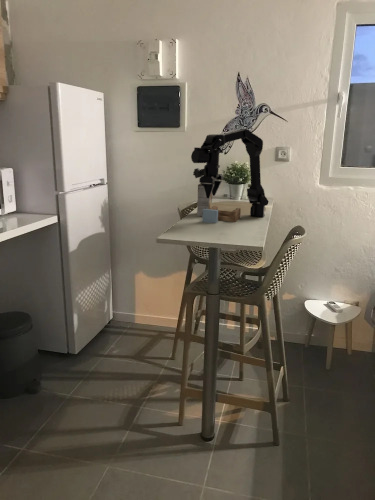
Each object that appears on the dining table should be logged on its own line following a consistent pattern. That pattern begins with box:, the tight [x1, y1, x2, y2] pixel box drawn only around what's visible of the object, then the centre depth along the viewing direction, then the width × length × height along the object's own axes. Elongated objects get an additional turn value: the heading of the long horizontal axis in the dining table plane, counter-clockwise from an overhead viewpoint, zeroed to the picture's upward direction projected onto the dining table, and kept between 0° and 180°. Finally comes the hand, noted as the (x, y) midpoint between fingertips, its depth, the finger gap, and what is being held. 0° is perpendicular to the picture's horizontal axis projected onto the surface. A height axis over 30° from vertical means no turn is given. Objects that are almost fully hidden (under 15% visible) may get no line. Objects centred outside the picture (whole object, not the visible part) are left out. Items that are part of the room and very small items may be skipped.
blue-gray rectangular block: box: [201, 209, 219, 224], centre depth 189 cm, size 7×2×6 cm, turn 70°
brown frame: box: [209, 205, 242, 223], centre depth 198 cm, size 14×10×5 cm
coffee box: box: [196, 183, 213, 217], centre depth 205 cm, size 9×6×16 cm
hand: (210, 196), depth 187 cm, fingers open, 9 cm apart
